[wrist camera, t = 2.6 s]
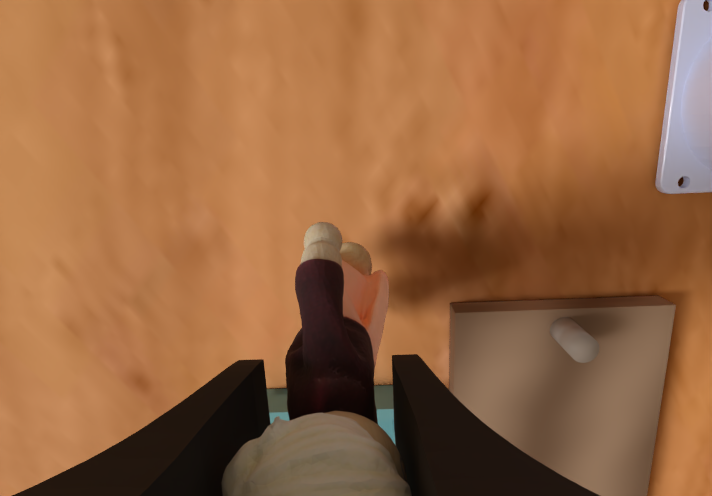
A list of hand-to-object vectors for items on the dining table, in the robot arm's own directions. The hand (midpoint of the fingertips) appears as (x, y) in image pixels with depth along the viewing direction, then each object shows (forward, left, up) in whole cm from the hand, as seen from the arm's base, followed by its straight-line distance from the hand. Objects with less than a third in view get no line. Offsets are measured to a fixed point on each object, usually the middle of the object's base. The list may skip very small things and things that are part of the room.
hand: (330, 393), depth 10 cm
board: (-10, +9, -10) cm, 17 cm away
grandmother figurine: (0, 0, -8) cm, 8 cm away
